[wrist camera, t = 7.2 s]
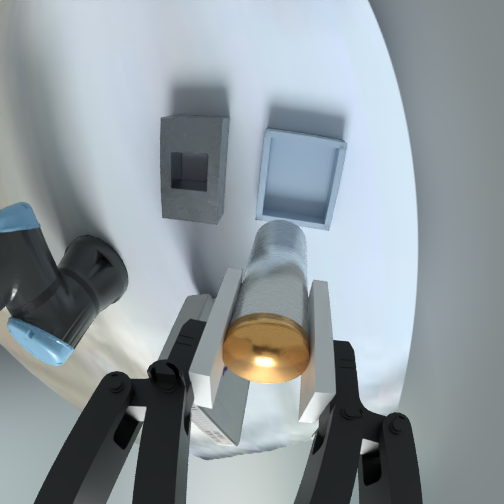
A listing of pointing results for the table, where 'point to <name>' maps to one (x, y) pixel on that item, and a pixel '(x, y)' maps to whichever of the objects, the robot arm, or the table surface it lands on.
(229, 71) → the table surface
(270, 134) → the tray
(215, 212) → the grey socket block
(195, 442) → the table surface
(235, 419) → the network device
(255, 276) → the steel pin
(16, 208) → the robot arm
